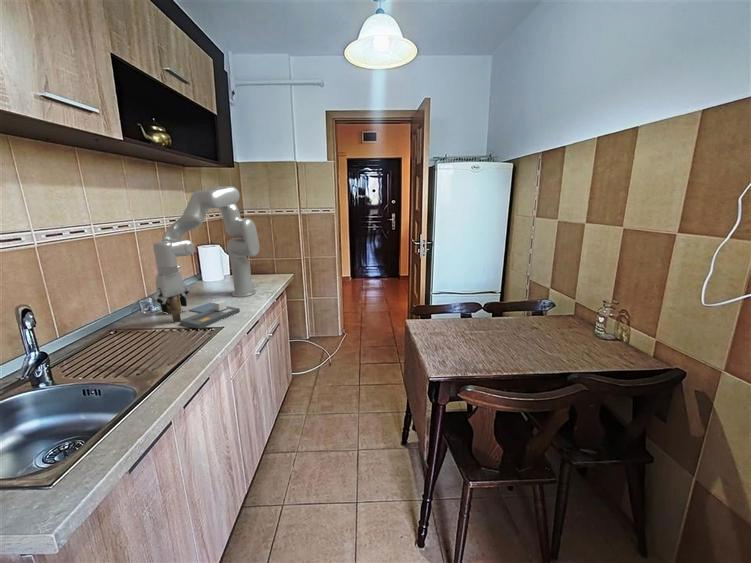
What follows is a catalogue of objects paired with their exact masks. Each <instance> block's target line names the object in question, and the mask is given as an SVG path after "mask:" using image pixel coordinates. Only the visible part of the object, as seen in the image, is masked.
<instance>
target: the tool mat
mask: <svg viewBox="0 0 751 563" xmlns="http://www.w3.org/2000/svg"><path fill="white" fill-rule="evenodd" d="M213 303H214V302H208V303H204V304H202V305H199V306H196V307H193V308H190V309H189V310H188V311H189V312H193V313H197V314H199V313H202V312H205V311H207V310H210V309H213Z"/></svg>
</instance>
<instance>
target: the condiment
mask: <svg viewBox="0 0 751 563" xmlns="http://www.w3.org/2000/svg"><path fill="white" fill-rule="evenodd" d="M177 301H178V307H179V312H181V310H183V312H181V313H184V312H186V310H184V309H182V306H181V303H180V295H177ZM166 304H167V307H168V312H167V313H168V314H172V312H171V307H170V301H169V298H167V300H166Z"/></svg>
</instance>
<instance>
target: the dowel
mask: <svg viewBox="0 0 751 563" xmlns="http://www.w3.org/2000/svg"><path fill="white" fill-rule="evenodd" d="M169 301H170V307H171V312H172V315H171V316H172V317H171V318H172V323H173V322H178V323H180V320H182V319H181V313H180V312H179V307H178V301H177V295H176V296H172V297H169Z"/></svg>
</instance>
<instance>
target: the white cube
mask: <svg viewBox="0 0 751 563" xmlns="http://www.w3.org/2000/svg"><path fill="white" fill-rule="evenodd" d="M212 303H213V309H214V310H217V311H221V310H224V309H227V307H226V306H227V301H226V300H225V301H224V300H218V301H215V302H212Z"/></svg>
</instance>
